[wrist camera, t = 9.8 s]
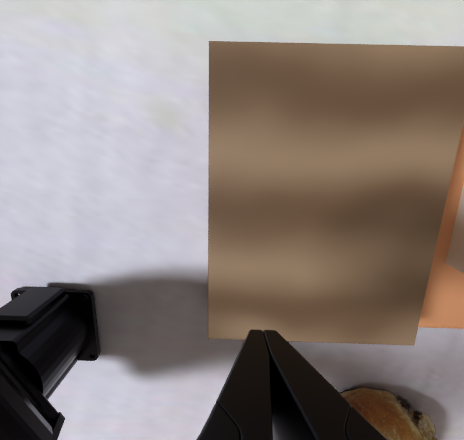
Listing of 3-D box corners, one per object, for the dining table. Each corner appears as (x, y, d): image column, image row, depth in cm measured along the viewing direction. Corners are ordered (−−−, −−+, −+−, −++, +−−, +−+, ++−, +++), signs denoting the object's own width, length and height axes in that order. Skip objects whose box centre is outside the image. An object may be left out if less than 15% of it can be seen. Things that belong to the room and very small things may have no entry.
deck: (383, 311, 22) (414, 345, 18) (213, 306, 22) (208, 338, 19) (427, 69, 18) (480, 47, 14) (215, 64, 18) (208, 41, 14)
